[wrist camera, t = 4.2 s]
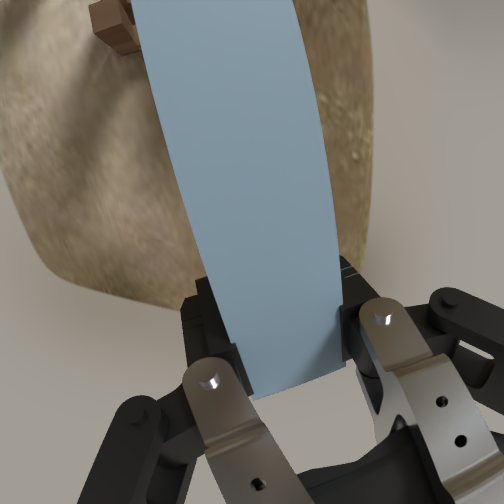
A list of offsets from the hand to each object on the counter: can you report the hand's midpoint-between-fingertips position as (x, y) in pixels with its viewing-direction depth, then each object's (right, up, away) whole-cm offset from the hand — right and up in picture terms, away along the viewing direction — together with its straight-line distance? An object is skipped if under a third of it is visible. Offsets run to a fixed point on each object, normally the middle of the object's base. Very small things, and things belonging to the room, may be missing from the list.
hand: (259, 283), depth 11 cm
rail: (-1, +4, -1) cm, 4 cm away
